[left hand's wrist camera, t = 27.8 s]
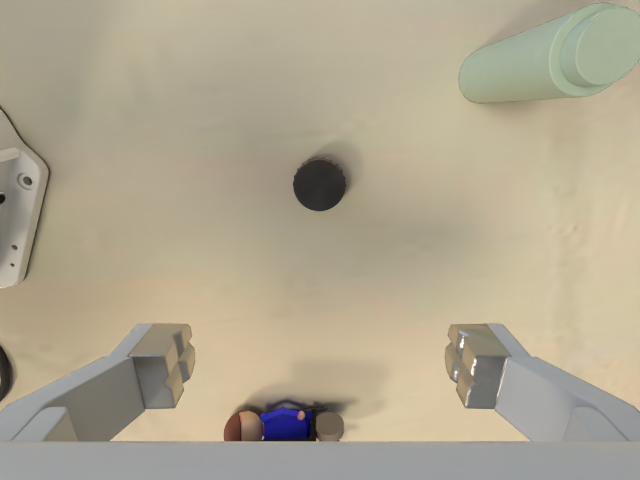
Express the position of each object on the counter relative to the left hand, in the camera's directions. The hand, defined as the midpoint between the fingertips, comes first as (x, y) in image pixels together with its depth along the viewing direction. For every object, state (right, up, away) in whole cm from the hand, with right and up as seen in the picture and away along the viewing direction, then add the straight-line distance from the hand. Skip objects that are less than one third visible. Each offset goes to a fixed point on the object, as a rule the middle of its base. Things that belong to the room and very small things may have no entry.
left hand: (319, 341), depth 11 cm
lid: (0, +9, +23) cm, 24 cm away
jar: (+15, +18, +20) cm, 31 cm away
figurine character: (-5, -20, +35) cm, 41 cm away
